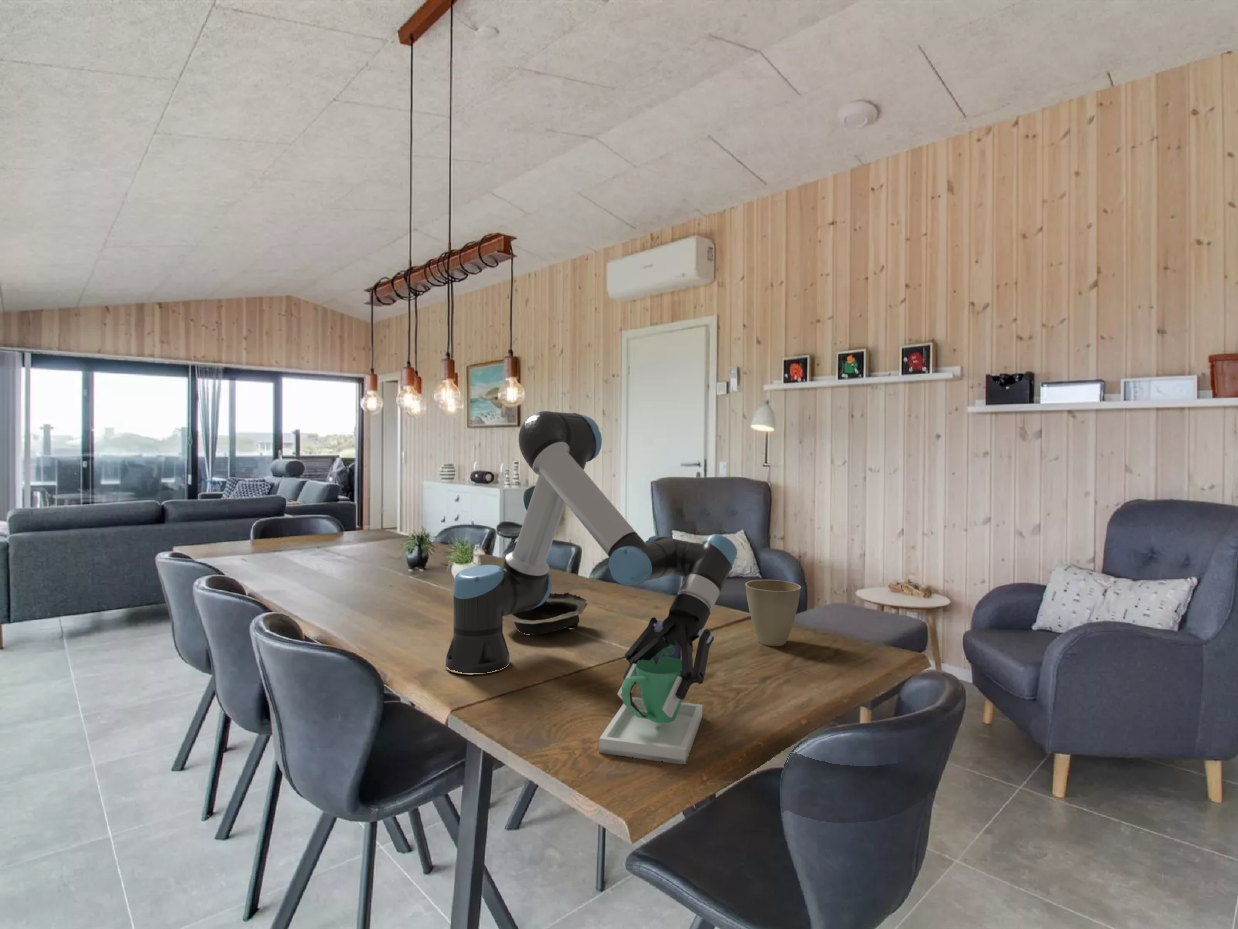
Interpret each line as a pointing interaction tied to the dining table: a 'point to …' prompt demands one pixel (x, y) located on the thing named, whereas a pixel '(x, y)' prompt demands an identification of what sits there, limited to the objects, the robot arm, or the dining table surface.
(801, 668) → the dining table surface
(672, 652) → the flask
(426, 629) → the dining table surface
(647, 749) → the cradle tray
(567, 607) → the stone bowl
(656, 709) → the mug
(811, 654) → the dining table surface
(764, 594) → the plant pot
